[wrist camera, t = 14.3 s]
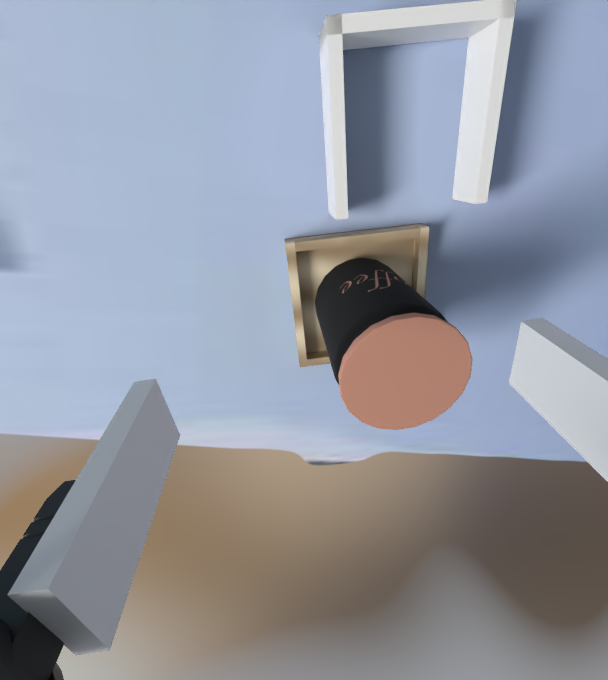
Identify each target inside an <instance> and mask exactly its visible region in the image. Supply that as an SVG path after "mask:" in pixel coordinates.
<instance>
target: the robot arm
mask: <svg viewBox="0 0 608 680" xmlns="http://www.w3.org/2000/svg"><path fill="white" fill-rule="evenodd" d="M509 384H510V385H511V386H512V387H513V388H514V389H515V390H516V391H517V392H518V393H519V394H520V395H521V396H522V397H523V398H524V399H525V400H526V401H527V402H528V403H529V404H530V405H531V406H532V407H533V408H534V409H535V410H536V411H537V412H538V413H539V414H540V415H541V416H542V417H543V418H544V419H545V420H546V421H547V422H548V423H549V424H550V425H551V426H552V427H553V428H554V429H555V430H556V431H557V432H558V433H559V434H560V435H561V436H562V437H563V438H564V439H565V440H566V441H567V442H568V443H569V444H570V445H571V446H572V447H573V448H574V449H575V450H576V451H577V452H578V453H579V454H580V455H581V456H582V457H583V458H584V459H585V460H586V461H587V462H589V464H590V465H591V466H592V467H594V469H595V470H596V471H597V472H598V473H599V474H601V476H602V477H603V478H604V479H606V481H607V482H608V359H607V358H606V357H604V356H602V355H601V354H599V353H598V352H596V351H594V350H593V349H591V348H590V347H588V346H586V345H585V344H583V343H582V342H580V341H578V340H577V339H575V338H574V337H572V336H571V335H569V334H567V333H566V332H564V331H563V330H561V329H559V328H558V327H556V326H555V325H553V324H551V323H550V322H548V321H547V320H545V319H543V318H540V319H533V320H527V321H521V326H520V331H519V336H518V341H517V346H516V351H515V356H514V361H513V366H512V371H511V375H510V380H509ZM179 437H180V434H179V432H178V429H177V427H176V425H175V422H174V420H173V418H172V415H171V413H170V411H169V408H168V406H167V404H166V402H165V399H164V397H163V395H162V392H161V390H160V388H159V385H158V383H157V381H156V379H151V380H145V381H139V382H134V384H133V385H132V387H131V389H130V390H129V392H128V394H127V395H126V397H125V399H124V400H123V402H122V404H121V405H120V407H119V409H118V410H117V412H116V414H115V415H114V417H113V419H112V420H111V422H110V424H109V425H108V427H107V429H106V430H105V432H104V434H103V435H102V437H101V439H100V441H99V442H98V444H97V446H96V447H95V449H94V451H93V452H92V454H91V456H90V457H89V459H88V461H87V462H86V464H85V466H84V467H83V469H82V471H81V472H80V474H79V476H78V477H77V479H76V480H71V481H65V482H64V483H63V484H62V485H60V486H59V488H57V489H56V490H55V491H54V492H53V493H52V494H51V495H50V496H49V497H48V498H47V499H46V501H45V502H44V504H43V506H42V507H41V509H40V510H39V512H38V513H37V515H36V516H35V518H34V522H32V523H31V524H30V525H29V527H28V529H27V530H26V532H25V533H24V537H23V539H21V540H20V541H19V542H18V544H17V546H16V547H15V549H14V550H13V552H12V553H11V555H10V556H9V558H8V559H7V561H6V562H5V564H4V566H3V567H2V569H1V570H0V680H64V679H63V675H62V671H61V669H60V668H59V666H58V665H57V663H56V662H57V659H58V657H59V654H60V652H61V650H62V647H63V645H65V646H66V647H67V648H68V649H69V650H70V651H72V652H73V653H74V654H75V655H82V654H88V653H95V652H101V651H107V650H110V648H111V645H112V641H113V639H114V636H115V633H116V630H117V627H118V623H119V620H120V617H121V614H122V611H123V608H124V605H125V602H126V599H127V596H128V593H129V590H130V587H131V584H132V580H133V577H134V574H135V571H136V568H137V565H138V562H139V559H140V556H141V553H142V550H143V547H144V544H145V541H146V538H147V535H148V532H149V529H150V525H151V522H152V519H153V516H154V513H155V510H156V507H157V504H158V501H159V498H160V495H161V492H162V489H163V486H164V483H165V480H166V477H167V473H168V470H169V467H170V464H171V461H172V458H173V455H174V452H175V449H176V446H177V443H178V440H179Z"/></svg>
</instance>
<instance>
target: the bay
mask: <svg viewBox="0 0 608 680" xmlns="http://www.w3.org/2000/svg"><path fill="white" fill-rule="evenodd" d="M516 2H517V0H483V1H472V2H462V3H451V4H441V5H430V6H420V7H409V8H398V9H388V10H377V11H367V12H356V13H346V14H335V15H327V16H326V18H325V21H324V23H323V26H322V29H321V31H320V34H319V48H320V65H321V83H322V100H323V118H324V136H325V153H326V171H327V188H328V206H329V213H330V214H331V215H332V216H333V217H334V218H335V219H336V220H338V219H346V218H348V196H347V165H346V134H345V103H344V71H343V50H351V49H361V48H371V47H381V46H391V45H402V44H412V43H422V42H432V41H442V40H453V39H463V38H469V40H468V50H467V60H466V69H465V79H464V89H463V99H462V109H461V118H460V128H459V138H458V148H457V158H456V167H455V177H454V187H453V197H452V199H454V200H459V201H464V202H469V203H473V204H479V203H487V199H488V192H489V185H490V179H491V172H492V165H493V158H494V151H495V145H496V138H497V131H498V124H499V117H500V111H501V104H502V97H503V90H504V83H505V77H506V70H507V63H508V56H509V49H510V43H511V36H512V29H513V22H514V16H515V9H516Z"/></svg>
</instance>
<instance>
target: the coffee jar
mask: <svg viewBox="0 0 608 680" xmlns="http://www.w3.org/2000/svg"><path fill="white" fill-rule="evenodd" d="M315 307H316V314H317V318H318V321H319V325H320V328H321V332H322V335H323V338H324V342H325V345H326V349H327V352H328V355H329V359H330V362H331V366H332V369H333V372H334V376H335V379H336V381H337V383H338V384H339V387H340V395H341V398H342V400H343V402H344V403H345V405H346V407H347V409H348V411H349V412H350V413H352V414H353V415H354V416H355V417H356V418H358V419H359V420H360V421H361V422H363V423H365V424H368V425H371V426H373V427H376V428H380V429H392V430H398V429H404V428H411V427H416V426H418V425H421V424H423V423H426V422H428V421H430V420H433V419H435V418H436V417H437V416H439V415H440V414H442V413H443V412H445V411H446V410H447V409H449V408H450V407H451V406H452V405H453V403H454V402H455V401H456V400H457V399H458V398H459V397H460V395H461V394H462V393H463V391H464V389H465V387H466V385H467V383H468V380H469V378H470V375H471V366H472V356H471V352H470V349H469V345H468V342H467V340H466V339H465V338H464V337H463V335H462V334H461V333H460V332H459V331H458V329H457V328H456V327H454V326H453V325H451V324H450V323H448V322H447V320H446V319H445V318H444V317H443V316H442V314H441V313H440V312H439V311H437V310H436V309H435V308H434V307H433V306H432V305H431V304H430V303H429V302H427V301H426V300H425V299H424V298H423V297H422V296H421V295H420V294H419V293H417V292H416V291H415V290H414V289H413V288H412V287H411V286H410V285H409V284H407V283H406V282H405V281H404V280H403V279H402V278H401V277H400V276H399V275H397V274H396V273H395V272H394V271H393V270H392V269H391V268H390V267H389V266H387V265H385V264H383V263H381V262H380V261H378V260H374V259H368V258H357V259H351V260H347V261H345V262H343V263H341V264H339V265H337V266H335V267H334V268H333V269H332V270H331V271H330V272H329V273H328V274H327V275H326V276H325V277H324V278H323V280H322V282H321V284H320V285H319V287H318V289H317V294H316V299H315Z"/></svg>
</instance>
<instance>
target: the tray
mask: <svg viewBox="0 0 608 680" xmlns="http://www.w3.org/2000/svg"><path fill="white" fill-rule="evenodd" d="M428 240H429V227H428V226H426V225H423V224H421V223H420V224H412V225H403V226H394V227H385V228H377V229H368V230H359V231H350V232H342V233H333V234H324V235H315V236H307V237H298V238H289V239H285V246H286V255H287V263H288V272H289V280H290V288H291V297H292V305H293V314H294V322H295V330H296V339H297V347H298V356H299V363H300V367H305V366H313V365H321V364H329V363H331V362H330V359H329V355H328V352H327V349H326V345H325V342H324V338H323V335H322V332H321V328H320V325H319V321H318V318H317V314H316V307H315V299H316V294H317V289H318V287H319V285H320V284H321V282H322V280H323V278H324V277H325V276H326V275H327V274H328V273H329V272H330V271H331V270H332V269H333V268H334V267H335V266H337V265H339V264H341V263H343V262H345V261H347V260H351V259H357V258H368V259H374V260H378V261H380V262H381V263H383V264H385V265H387V266H389V267H390V268H391V269H392V270H393V271H394V272H395V273H396V274H397V275H399V276H400V277H401V278H402V279H403V280H404V281H405V282H406V283H407V284H409V285H410V286H411V287H412V288H413V289H414V290H415V291H416V292H417V293H419V294H420V295H421V296H422V297H423V298H424V293H425V280H426V267H427V254H428Z"/></svg>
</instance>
